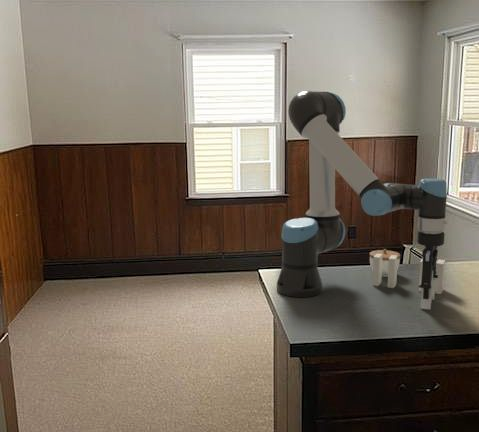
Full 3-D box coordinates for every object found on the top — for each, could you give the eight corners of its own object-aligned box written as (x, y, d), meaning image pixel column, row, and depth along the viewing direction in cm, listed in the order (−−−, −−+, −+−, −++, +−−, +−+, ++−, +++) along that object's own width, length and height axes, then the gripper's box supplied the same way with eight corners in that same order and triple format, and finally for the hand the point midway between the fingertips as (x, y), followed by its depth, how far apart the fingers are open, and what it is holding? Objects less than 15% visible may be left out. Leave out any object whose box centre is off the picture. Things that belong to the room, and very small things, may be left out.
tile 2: (387, 287, 176) (388, 258, 174) (390, 283, 180) (391, 254, 178) (393, 288, 175) (394, 259, 173) (396, 283, 179) (397, 255, 177)
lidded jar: (403, 272, 192) (404, 247, 190) (394, 280, 183) (395, 254, 181) (374, 268, 197) (375, 244, 196) (364, 276, 189) (365, 250, 187)
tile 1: (372, 285, 178) (373, 257, 176) (375, 281, 182) (376, 253, 180) (378, 286, 177) (379, 257, 175) (381, 282, 181) (382, 254, 180)
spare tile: (422, 306, 158) (424, 274, 156) (424, 301, 162) (426, 269, 160) (429, 307, 157) (431, 275, 155) (431, 302, 161) (433, 270, 159)
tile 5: (434, 293, 169) (436, 263, 167) (436, 288, 174) (438, 259, 172) (441, 294, 168) (443, 263, 166) (443, 289, 173) (444, 260, 171)
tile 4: (418, 291, 171) (420, 261, 169) (420, 286, 176) (422, 257, 174) (425, 292, 170) (426, 262, 169) (427, 287, 175) (428, 258, 173)
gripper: (440, 239, 144) (436, 317, 148) (448, 225, 163) (444, 294, 167) (412, 237, 147) (409, 313, 151) (422, 223, 166) (419, 291, 170)
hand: (427, 303), depth 159 cm, fingers open, 9 cm apart
